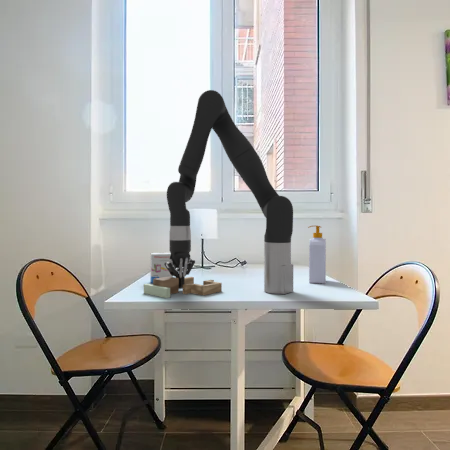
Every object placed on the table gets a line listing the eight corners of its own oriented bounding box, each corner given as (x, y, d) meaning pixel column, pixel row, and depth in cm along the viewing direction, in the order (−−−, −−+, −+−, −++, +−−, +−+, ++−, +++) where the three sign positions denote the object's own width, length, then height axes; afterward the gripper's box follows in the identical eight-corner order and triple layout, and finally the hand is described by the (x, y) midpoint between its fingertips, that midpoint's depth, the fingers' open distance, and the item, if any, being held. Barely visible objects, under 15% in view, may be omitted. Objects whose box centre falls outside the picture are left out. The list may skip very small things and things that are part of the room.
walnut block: (178, 292, 121) (178, 278, 121) (162, 295, 116) (162, 280, 116) (169, 290, 124) (169, 276, 124) (153, 293, 119) (153, 278, 119)
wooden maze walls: (226, 290, 125) (226, 281, 125) (198, 296, 114) (198, 287, 114) (191, 284, 137) (191, 276, 137) (162, 289, 126) (162, 281, 126)
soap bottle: (308, 279, 149) (308, 225, 148) (325, 280, 147) (325, 225, 146) (307, 283, 140) (307, 225, 140) (325, 284, 138) (325, 225, 138)
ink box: (151, 283, 139) (151, 253, 138) (150, 281, 143) (150, 252, 143) (172, 282, 141) (172, 253, 141) (171, 280, 146) (171, 252, 146)
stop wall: (170, 297, 113) (170, 288, 113) (166, 298, 112) (166, 288, 112) (147, 292, 121) (147, 283, 121) (143, 293, 120) (143, 284, 120)
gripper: (172, 239, 117) (172, 291, 117) (200, 238, 127) (201, 286, 127) (158, 239, 122) (158, 289, 122) (186, 237, 132) (186, 284, 132)
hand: (180, 287), depth 125 cm, fingers closed
